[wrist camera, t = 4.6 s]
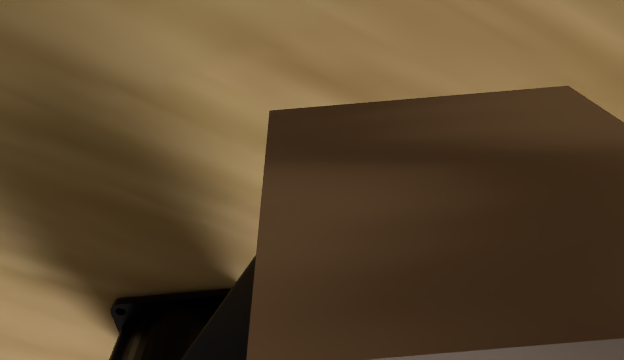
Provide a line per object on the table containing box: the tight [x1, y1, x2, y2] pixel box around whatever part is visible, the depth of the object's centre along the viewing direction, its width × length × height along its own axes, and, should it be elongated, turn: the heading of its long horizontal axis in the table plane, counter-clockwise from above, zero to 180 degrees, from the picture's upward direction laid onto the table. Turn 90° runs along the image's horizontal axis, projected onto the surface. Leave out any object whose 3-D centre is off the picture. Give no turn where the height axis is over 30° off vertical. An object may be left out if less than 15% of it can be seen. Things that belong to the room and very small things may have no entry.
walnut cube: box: [246, 86, 624, 360], centre depth 7 cm, size 5×5×5 cm
